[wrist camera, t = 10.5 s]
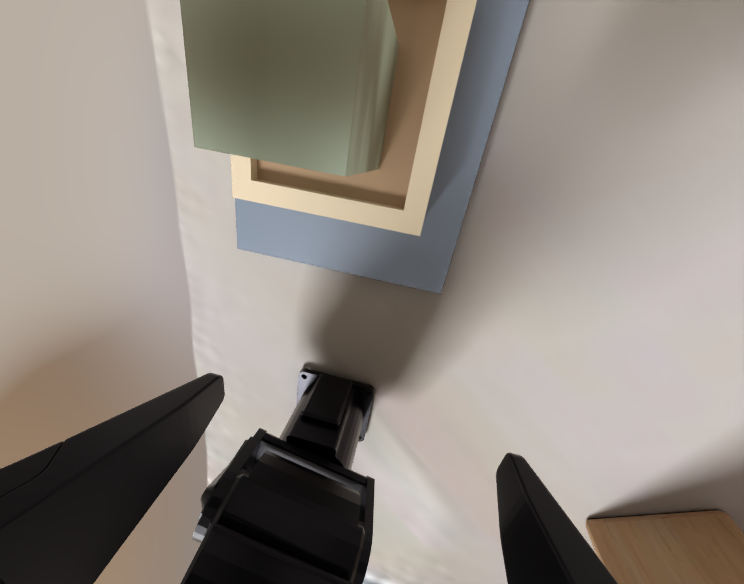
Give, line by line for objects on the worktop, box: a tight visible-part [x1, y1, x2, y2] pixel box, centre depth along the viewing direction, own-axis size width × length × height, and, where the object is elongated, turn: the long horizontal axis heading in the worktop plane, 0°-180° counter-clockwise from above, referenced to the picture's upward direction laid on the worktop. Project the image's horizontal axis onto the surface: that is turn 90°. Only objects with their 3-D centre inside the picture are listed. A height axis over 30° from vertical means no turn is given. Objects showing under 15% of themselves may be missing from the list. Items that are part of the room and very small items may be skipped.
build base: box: [231, 0, 529, 294], centre depth 14 cm, size 18×14×5 cm
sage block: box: [180, 0, 399, 177], centre depth 10 cm, size 4×4×6 cm
